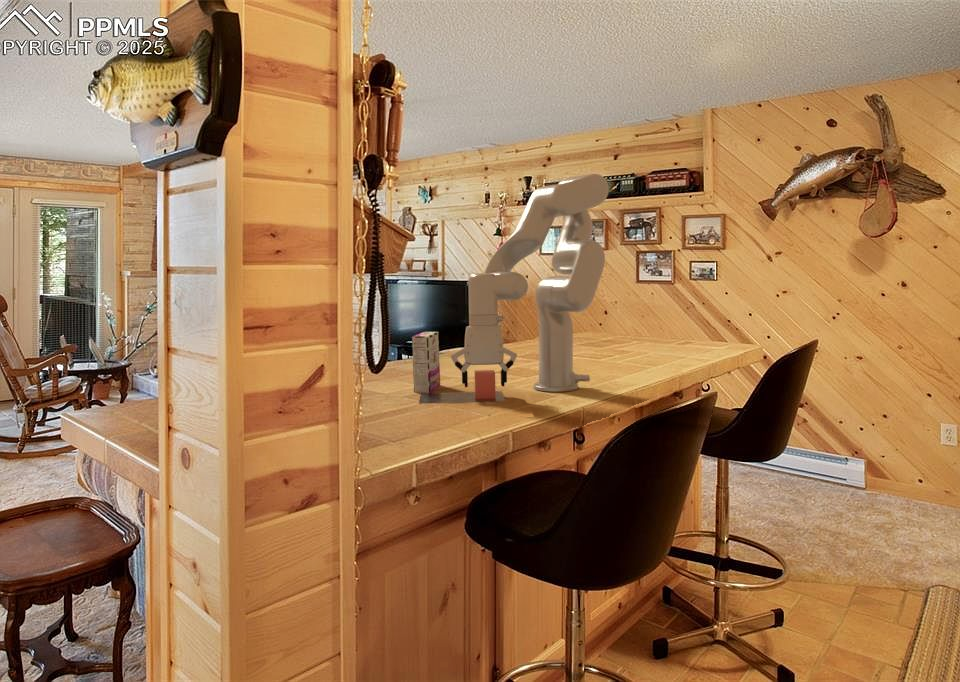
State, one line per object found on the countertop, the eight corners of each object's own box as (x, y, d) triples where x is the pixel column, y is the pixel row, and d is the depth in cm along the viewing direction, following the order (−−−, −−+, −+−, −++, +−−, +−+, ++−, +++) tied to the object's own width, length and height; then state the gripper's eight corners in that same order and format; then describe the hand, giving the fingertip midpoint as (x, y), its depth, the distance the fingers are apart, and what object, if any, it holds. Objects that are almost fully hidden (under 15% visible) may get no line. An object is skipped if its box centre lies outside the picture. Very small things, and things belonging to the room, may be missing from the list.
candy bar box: (424, 387, 189) (422, 331, 188) (440, 387, 188) (439, 331, 187) (412, 395, 179) (410, 335, 177) (430, 395, 178) (428, 336, 176)
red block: (494, 394, 174) (494, 369, 173) (495, 398, 169) (495, 373, 168) (474, 394, 174) (474, 370, 173) (475, 398, 169) (475, 373, 168)
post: (501, 394, 178) (501, 373, 177) (505, 404, 165) (505, 381, 164) (421, 396, 177) (420, 375, 176) (418, 406, 164) (418, 383, 163)
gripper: (515, 319, 173) (515, 382, 175) (450, 320, 172) (451, 384, 174) (518, 321, 166) (518, 387, 168) (450, 323, 165) (451, 389, 167)
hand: (484, 385), depth 171 cm, fingers open, 9 cm apart
